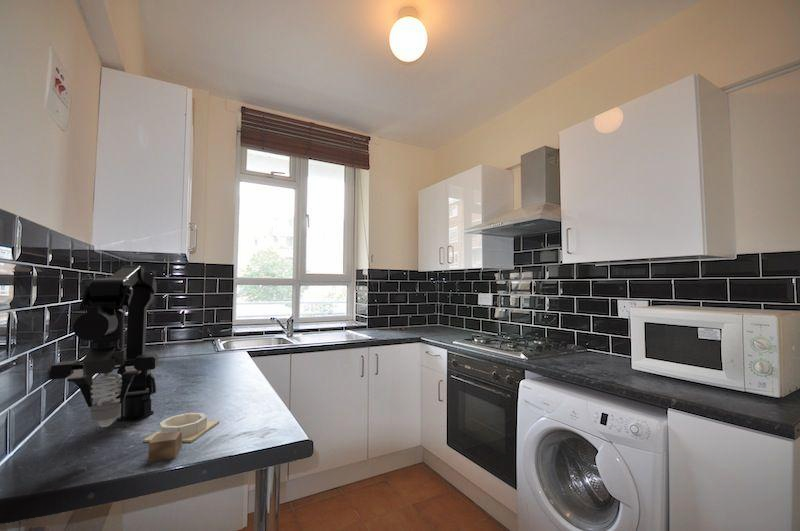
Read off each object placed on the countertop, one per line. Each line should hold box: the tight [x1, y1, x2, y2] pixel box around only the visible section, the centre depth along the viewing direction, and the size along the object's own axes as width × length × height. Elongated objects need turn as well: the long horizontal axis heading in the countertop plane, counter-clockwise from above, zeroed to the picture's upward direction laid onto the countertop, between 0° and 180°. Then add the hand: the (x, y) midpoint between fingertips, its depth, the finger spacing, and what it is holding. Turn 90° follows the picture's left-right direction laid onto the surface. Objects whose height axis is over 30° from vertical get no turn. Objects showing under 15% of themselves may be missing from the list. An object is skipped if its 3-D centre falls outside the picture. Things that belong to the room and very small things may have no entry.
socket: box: [142, 412, 220, 443], centre depth 92 cm, size 12×12×3 cm
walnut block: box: [147, 431, 183, 463], centre depth 80 cm, size 5×5×4 cm
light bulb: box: [90, 372, 122, 429], centre depth 81 cm, size 6×6×12 cm
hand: (106, 404), depth 81 cm, fingers closed on light bulb, 5 cm apart
